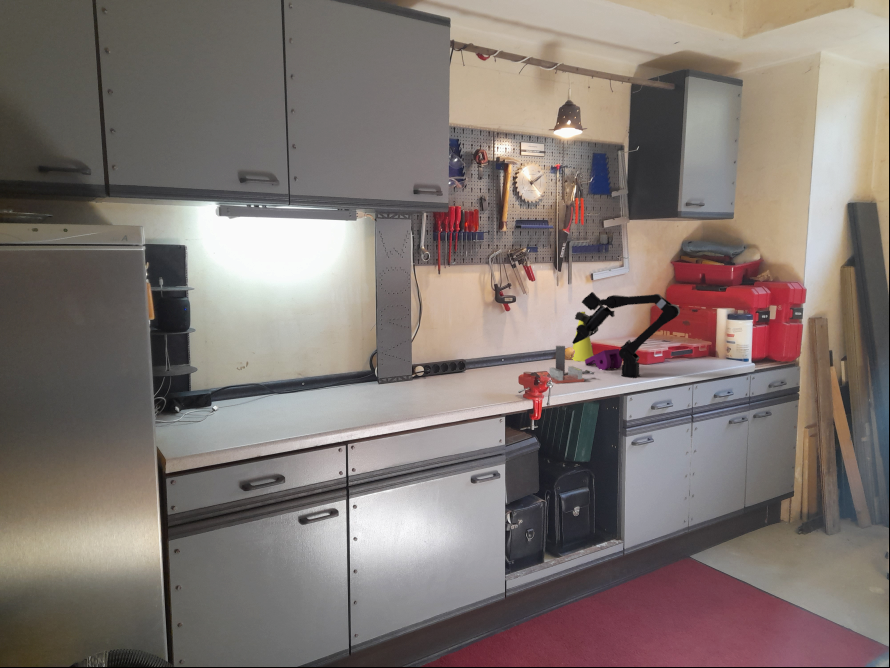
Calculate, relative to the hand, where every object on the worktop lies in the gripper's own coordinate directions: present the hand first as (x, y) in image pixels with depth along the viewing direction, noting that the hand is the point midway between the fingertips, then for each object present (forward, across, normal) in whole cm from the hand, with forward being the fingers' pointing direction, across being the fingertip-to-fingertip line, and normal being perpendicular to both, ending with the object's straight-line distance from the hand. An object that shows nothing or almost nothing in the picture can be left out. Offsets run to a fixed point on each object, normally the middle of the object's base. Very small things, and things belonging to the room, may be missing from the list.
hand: (575, 342), depth 272 cm
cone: (+14, -34, +5) cm, 38 cm away
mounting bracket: (+6, -17, +16) cm, 24 cm away
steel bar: (+14, +9, +6) cm, 17 cm away
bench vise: (+8, +20, +12) cm, 24 cm away
